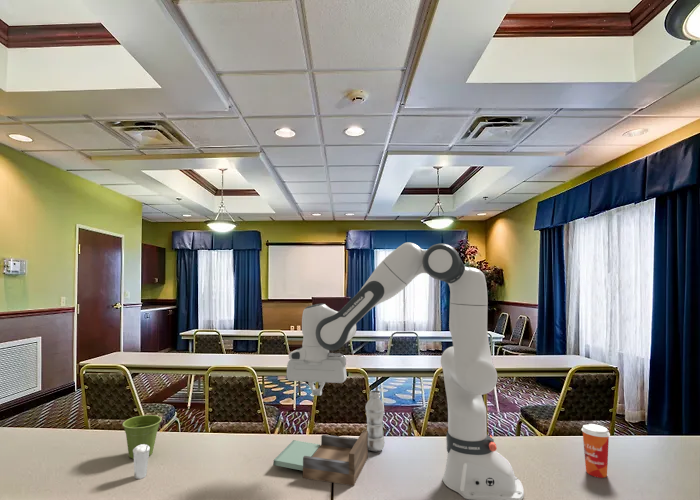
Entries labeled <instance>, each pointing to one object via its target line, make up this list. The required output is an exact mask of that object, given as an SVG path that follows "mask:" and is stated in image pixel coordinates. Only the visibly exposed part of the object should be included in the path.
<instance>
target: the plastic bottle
mask: <svg viewBox="0 0 700 500" xmlns="http://www.w3.org/2000/svg"><path fill="white" fill-rule="evenodd" d="M381 397H382V396H381V391H380V390H377V389H376V390H375V389H374V390H370V391H369V400H368V401H367V402H366V403H365V414H366V431H368V450H369V451H371V452H380V451H382V450H383V449H384V447H385V444H386V443H385V437H384V429H383V428H384V427H383V421H384V411H385V406H384V404H383V401H382V400H381Z"/></svg>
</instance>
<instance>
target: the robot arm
mask: <svg viewBox="0 0 700 500" xmlns="http://www.w3.org/2000/svg"><path fill="white" fill-rule="evenodd" d="M483 272H484V271H483ZM483 272H482V271H481V269H478V268H475V267H470V266H465V265H464V263H463V261H462V258H461V257H460V254H459V253H458V251H457V250H456V249H455V248H454V247H453V246H451V245H449V244H446V243H435V244H433V245H431V246H429V247H428V248H427V249H426V250H425V249H423V248H421V247H420V246H419V245H417V244H416V243H414V242H404V243H402V244H400V245H399V246H398V247H396V249H395V250H392V252H390V253H389V254H388V255H387V256H386V257H385V258H384V259H383V260H382V261H381V262H380V263H379V264H378V266H377V267H376V268H375V269H374V270H373V271H372V273H371V274H370V275H369V278H368V279H367V280H366V281H365V283H364V284H363V286H361V288H360V290H359V291H358V292H356V294H355V295H354V296H353V297H352V298H351V299H350V300H349V301H348V302H347V303H346V304H345V305H344V306H343V307H342V308H341V309H340V310H338V311H337V310H334V309H333V308H330V307H329V306H328V305H326V303H316V304H311V305H308V306H306V307H305V308H304V309H303V311H302V316H301V333H302V336H303V339H302V346H301V347H300V348H297V349H295V350H293V351H291V352H289V353H288V359H289V360H288V361H287V364H286V378H287V380H288V381H290V382H308V384H307V385H308V387H309V389H310V390H311V395H312V396H322V395H323V388H324V386H325V384H326V383H333V384H336V383H337V384H343V383H344V382H345V381H346V380H347V378H348V377H347V375H348V374H347V368H346V365H347V358H346V356H345V355H344V354H342V353H340V352H339V353H338V352H337V353H335V352H334V353H333V352H330V351H337V350H339V349H341V348H342V347H343V346H344V345H346V343H348V342H349V341H351V339H352V338H354V336H355V335H356V333H357V323H358V322H360V320H362V318H364V316H365V315H367V313H369V312H370V311H371V310H372V309H374V308H375V307H376V306H378V305H380V304H381V303H384V302H386V301H388V300H390V299H392V298H394V297H395V296H396V295H397V294H399V293H400V292H401V291H403V290H404V289H405V288H406V287H407V286H408V285H409V284H410V283H411V282H412V281H413V280H414V279H416V278H417V277H418V276H419V275H421V274H427V275H429V277H431V278H433V279H434V280H437V281H442V282H444V283H446V284H448V286H449V291H450V293H449V316H448V317H449V321H448V323H449V324H448V325H449V326H448V327H449V328H448V329H449V332H450V336H451V341H452V346H449V347H447V348H445V349H444V350H443V351H442V354H441V355H440V365H441V368H442V373H443V381H444V383H443V384H444V387H445V394H446V401H447V423H448V424H447V426H448V427H447V429H448V430H447V431H446V435H445V438H446V440H445V441H446V442H445V444H446V445H445V446H446V447H445V448H446V452H447V455H446V463H445V469H444V473H443V476H442V481H443V483H444V485H445V486H447V487H448V489H451V490H453V491H454V492H455V493H458V494H459V495H460V496H462V498H464V499H465V500H523V499H524V497H525V490H524V486H523V483H522V482H521V480H520V479H519V477H517V476H515V472H514V468H513V467H512V464H511V463H510V461H509V460H508V459H507V458H506V457H504V456H503V455H502V454H501V453H499V452H498V451H497V450H498V449H497V444H496V443H495V442H494V441H495V439H493V436H492V435H491V434H490V435H488V434H487V408H486V404H485V401H484V399H483V395H486V394H489V393H490V392H492V391H493V390H494V389H495V387H496V385H497V383H498V377H499V376H498V372H497V369H496V368H495V365H494V362H493V358H492V352H491V347H490V341H489V335H488V334H489V333H488V304H489V302H488V287H487V281H486V276H485V273H483ZM315 383H318V386H319V387H318V388H316V386H315Z"/></svg>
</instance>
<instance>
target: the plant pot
mask: <svg viewBox="0 0 700 500" xmlns="http://www.w3.org/2000/svg"><path fill="white" fill-rule="evenodd" d="M162 419H163V418H162V417H161V416H159V415H155V414H154V415H153V414H146V415H144V414H143V415H139V416H134V417H133V416H132V417H130V418H128V419H125V421H123V422H122V427H124V433H125V435H126V443H127V452H128V457H129V459H130V458H131V459H132V460H134V458H133V449H134V448H135V447H136V446H138V445H141V444H145V445H148V446H149V447H150V451H149V457H151V456H152V454H153V452H154V448H155V443H156V439H157V434H158V430H159V427H160V423H161V422H162Z"/></svg>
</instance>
